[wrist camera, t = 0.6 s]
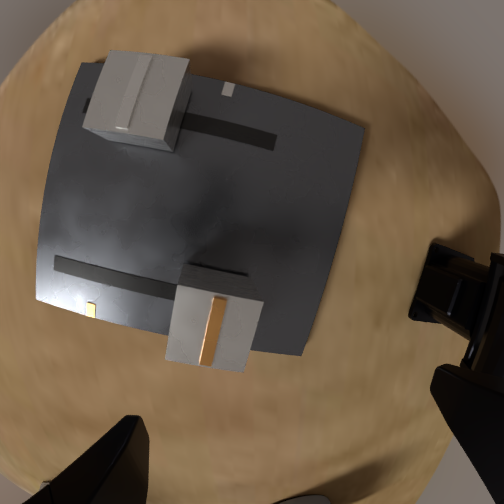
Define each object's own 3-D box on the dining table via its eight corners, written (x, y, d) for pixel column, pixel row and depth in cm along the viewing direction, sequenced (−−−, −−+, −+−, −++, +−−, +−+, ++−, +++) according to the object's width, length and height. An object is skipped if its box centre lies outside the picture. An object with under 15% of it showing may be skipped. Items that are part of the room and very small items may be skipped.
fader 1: (192, 87, 15) (189, 57, 11) (173, 151, 15) (162, 139, 11) (128, 77, 14) (109, 48, 10) (108, 140, 15) (80, 126, 10)
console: (357, 130, 18) (365, 128, 17) (297, 349, 21) (301, 356, 19) (86, 67, 14) (81, 61, 13) (42, 294, 17) (35, 299, 16)
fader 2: (250, 277, 17) (264, 303, 13) (235, 336, 18) (243, 374, 14) (183, 263, 17) (177, 286, 13) (172, 325, 17) (164, 361, 13)
